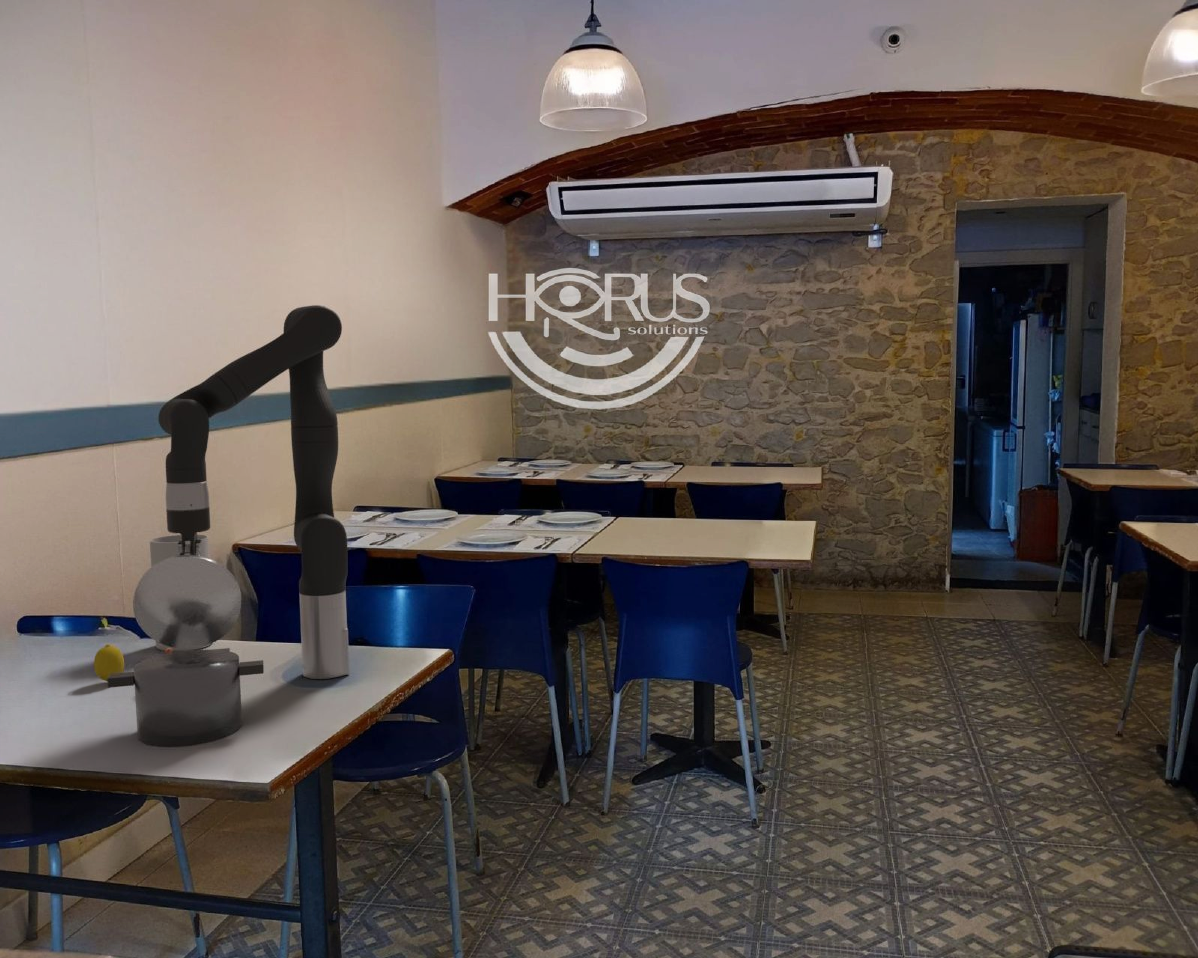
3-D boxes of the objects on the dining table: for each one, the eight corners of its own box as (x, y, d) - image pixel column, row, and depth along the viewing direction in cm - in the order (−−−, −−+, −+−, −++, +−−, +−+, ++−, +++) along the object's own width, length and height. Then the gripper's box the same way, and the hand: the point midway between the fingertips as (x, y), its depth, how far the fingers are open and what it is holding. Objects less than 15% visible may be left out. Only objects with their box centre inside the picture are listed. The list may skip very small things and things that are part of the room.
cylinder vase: (208, 650, 234) (202, 541, 231) (149, 654, 232) (143, 543, 229) (218, 637, 246) (213, 533, 244) (163, 640, 244) (157, 535, 242)
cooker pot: (266, 705, 194) (263, 642, 192) (265, 737, 176) (262, 668, 175) (121, 719, 186) (117, 654, 185) (104, 754, 169) (100, 682, 168)
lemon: (101, 679, 212) (99, 641, 211) (129, 678, 213) (127, 640, 212) (90, 687, 207) (88, 648, 206) (119, 686, 207) (116, 647, 206)
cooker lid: (243, 644, 191) (244, 634, 194) (238, 554, 185) (238, 546, 188) (137, 653, 185) (140, 642, 189) (128, 561, 179) (131, 552, 183)
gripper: (206, 509, 188) (211, 602, 190) (211, 501, 201) (215, 589, 203) (162, 511, 186) (167, 605, 188) (170, 503, 199) (174, 591, 200)
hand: (192, 596), depth 195 cm, fingers closed
